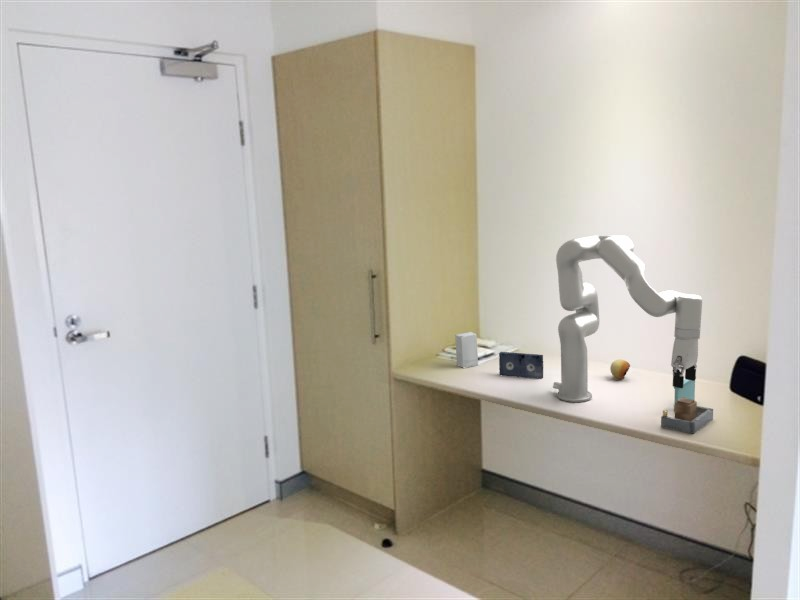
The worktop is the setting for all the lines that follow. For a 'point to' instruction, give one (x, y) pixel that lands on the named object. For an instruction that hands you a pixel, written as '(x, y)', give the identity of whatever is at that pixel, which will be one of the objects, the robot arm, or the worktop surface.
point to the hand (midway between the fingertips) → (684, 383)
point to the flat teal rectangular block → (685, 391)
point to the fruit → (619, 368)
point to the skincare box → (466, 349)
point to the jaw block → (685, 409)
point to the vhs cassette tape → (521, 365)
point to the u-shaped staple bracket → (692, 426)
